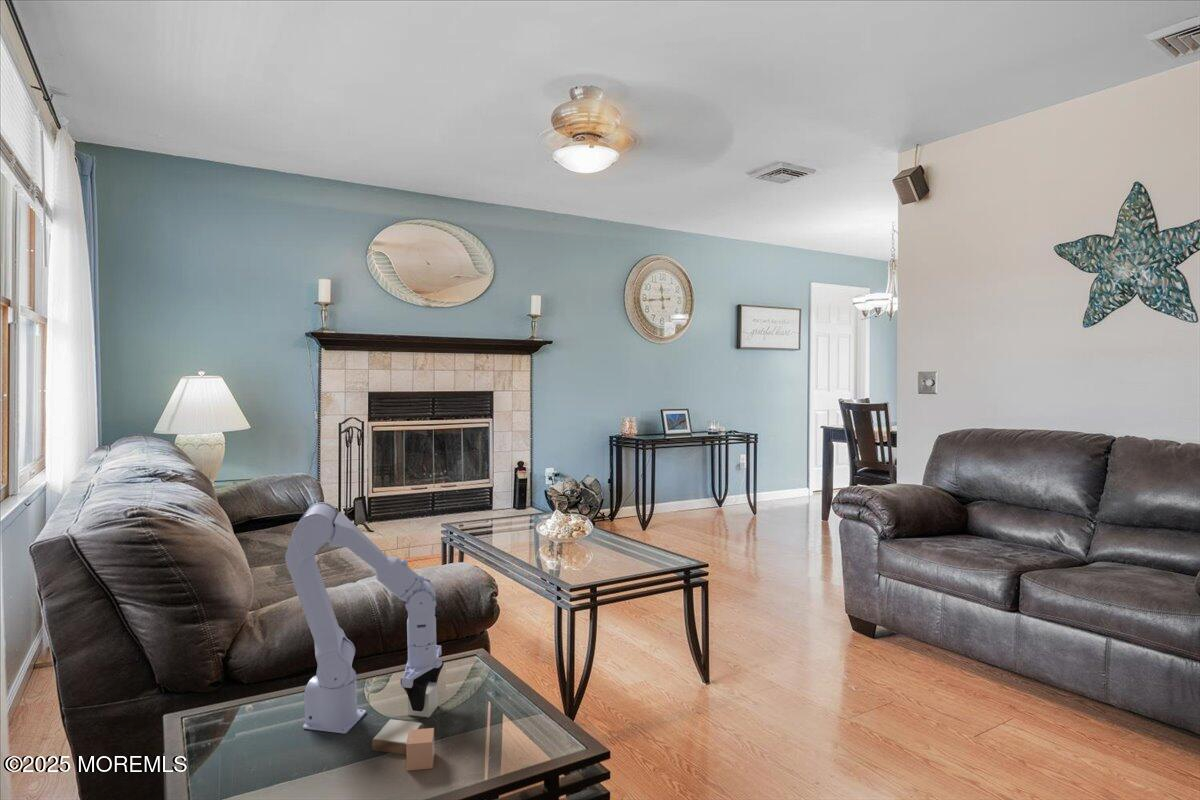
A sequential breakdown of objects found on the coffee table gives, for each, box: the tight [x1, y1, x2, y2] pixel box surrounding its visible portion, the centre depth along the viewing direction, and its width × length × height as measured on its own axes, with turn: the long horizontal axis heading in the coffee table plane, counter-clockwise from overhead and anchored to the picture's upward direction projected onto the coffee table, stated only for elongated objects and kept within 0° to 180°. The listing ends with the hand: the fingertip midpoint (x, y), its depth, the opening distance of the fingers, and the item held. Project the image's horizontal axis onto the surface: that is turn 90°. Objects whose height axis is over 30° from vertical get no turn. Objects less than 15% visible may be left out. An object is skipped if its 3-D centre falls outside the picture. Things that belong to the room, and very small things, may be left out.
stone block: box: [407, 682, 439, 718], centre depth 145 cm, size 4×4×5 cm
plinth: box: [371, 718, 424, 755], centre depth 134 cm, size 7×7×2 cm
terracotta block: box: [406, 727, 436, 771], centre depth 128 cm, size 4×4×5 cm
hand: (423, 703), depth 145 cm, fingers closed on stone block, 4 cm apart
